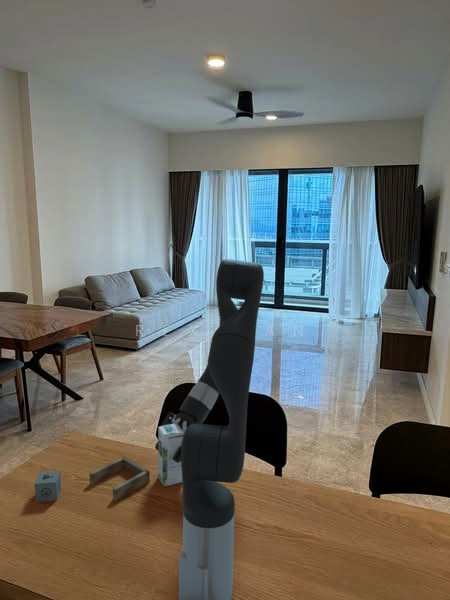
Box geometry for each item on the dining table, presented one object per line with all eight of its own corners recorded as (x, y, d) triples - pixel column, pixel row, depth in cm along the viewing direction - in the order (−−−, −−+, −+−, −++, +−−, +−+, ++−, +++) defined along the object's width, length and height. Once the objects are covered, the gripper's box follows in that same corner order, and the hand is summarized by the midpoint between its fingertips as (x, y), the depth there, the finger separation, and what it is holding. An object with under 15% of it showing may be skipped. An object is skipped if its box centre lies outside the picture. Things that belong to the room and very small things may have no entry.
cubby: (115, 501, 106) (115, 489, 106) (89, 483, 113) (89, 473, 113) (149, 481, 115) (149, 471, 114) (123, 466, 122) (123, 456, 121)
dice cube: (40, 490, 110) (39, 472, 109) (61, 488, 111) (60, 470, 110) (35, 502, 105) (34, 483, 104) (57, 500, 106) (56, 482, 105)
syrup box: (157, 476, 117) (156, 426, 115) (177, 471, 120) (178, 422, 117) (163, 487, 112) (163, 435, 110) (184, 482, 115) (185, 431, 112)
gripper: (175, 388, 122) (142, 440, 116) (210, 403, 113) (175, 460, 106) (189, 400, 127) (158, 451, 121) (224, 416, 117) (191, 472, 111)
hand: (166, 455), depth 114 cm, fingers closed on syrup box, 7 cm apart
